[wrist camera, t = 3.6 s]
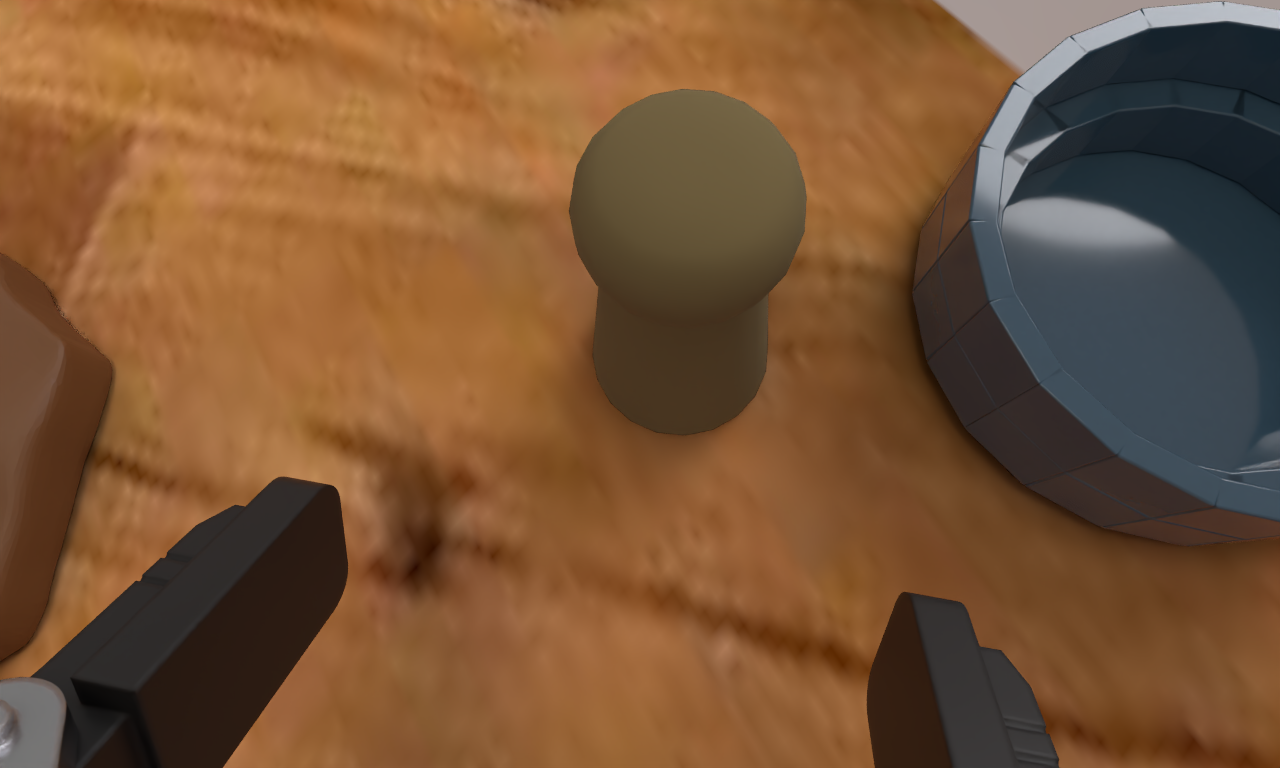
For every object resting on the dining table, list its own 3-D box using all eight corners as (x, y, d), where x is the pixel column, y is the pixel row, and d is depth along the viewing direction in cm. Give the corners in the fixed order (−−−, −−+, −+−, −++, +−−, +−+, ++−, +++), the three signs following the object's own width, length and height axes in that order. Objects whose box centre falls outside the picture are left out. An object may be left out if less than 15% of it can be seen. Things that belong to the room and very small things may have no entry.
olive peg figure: (800, 325, 25) (897, 124, 15) (707, 470, 24) (739, 363, 13) (654, 241, 26) (646, -3, 16) (558, 374, 25) (477, 206, 14)
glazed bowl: (1199, 63, 28) (1324, -64, 22) (1491, 430, 23) (1733, 379, 18) (830, 209, 26) (871, 111, 21) (1065, 626, 22) (1192, 634, 17)
